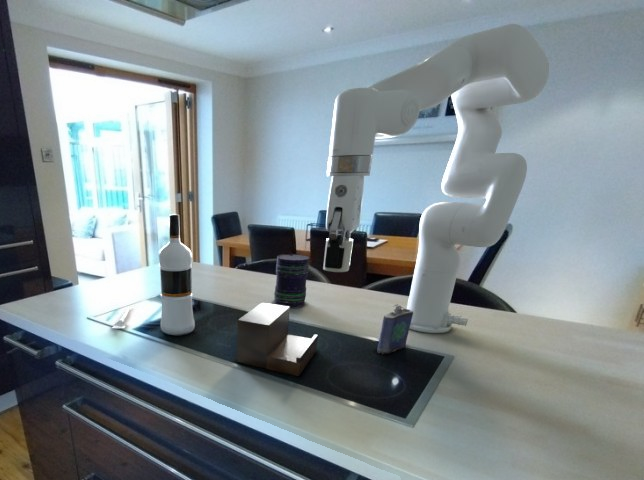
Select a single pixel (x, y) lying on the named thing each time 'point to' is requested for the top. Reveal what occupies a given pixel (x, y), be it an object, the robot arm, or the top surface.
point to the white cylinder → (346, 258)
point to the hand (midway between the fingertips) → (336, 264)
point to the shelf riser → (272, 341)
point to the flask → (394, 330)
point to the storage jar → (291, 280)
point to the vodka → (176, 283)
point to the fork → (120, 323)
